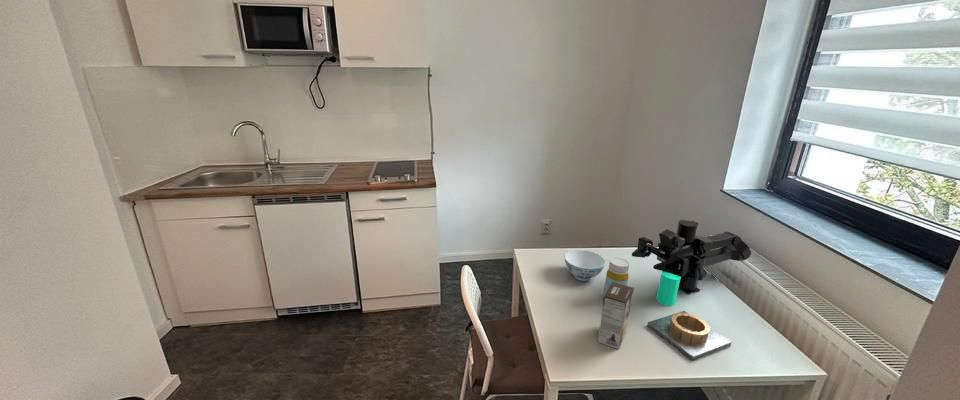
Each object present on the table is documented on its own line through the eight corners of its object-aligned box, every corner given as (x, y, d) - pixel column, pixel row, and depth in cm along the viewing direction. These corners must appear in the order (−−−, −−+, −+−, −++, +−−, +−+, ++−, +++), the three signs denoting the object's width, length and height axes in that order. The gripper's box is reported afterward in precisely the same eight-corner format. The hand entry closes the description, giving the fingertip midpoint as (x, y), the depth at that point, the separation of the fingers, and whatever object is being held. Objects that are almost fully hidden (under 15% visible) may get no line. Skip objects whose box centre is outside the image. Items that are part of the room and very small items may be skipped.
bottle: (625, 307, 127) (632, 268, 122) (603, 304, 128) (609, 265, 123) (622, 296, 133) (628, 258, 128) (601, 293, 134) (607, 256, 129)
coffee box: (605, 325, 117) (612, 280, 112) (626, 332, 114) (634, 287, 109) (596, 342, 110) (604, 295, 105) (619, 350, 107) (628, 302, 102)
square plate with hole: (683, 314, 124) (686, 302, 122) (730, 346, 110) (734, 333, 108) (646, 326, 117) (649, 314, 116) (692, 361, 104) (695, 347, 102)
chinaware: (607, 273, 147) (609, 256, 145) (596, 291, 135) (598, 272, 133) (570, 263, 155) (572, 246, 152) (556, 279, 143) (558, 261, 140)
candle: (673, 298, 133) (680, 268, 129) (676, 307, 127) (683, 276, 123) (655, 294, 134) (661, 264, 130) (657, 303, 129) (663, 273, 125)
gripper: (658, 220, 135) (624, 227, 129) (706, 241, 119) (670, 250, 113) (653, 248, 139) (620, 256, 133) (699, 272, 122) (664, 282, 117)
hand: (642, 260), depth 124 cm, fingers open, 9 cm apart
